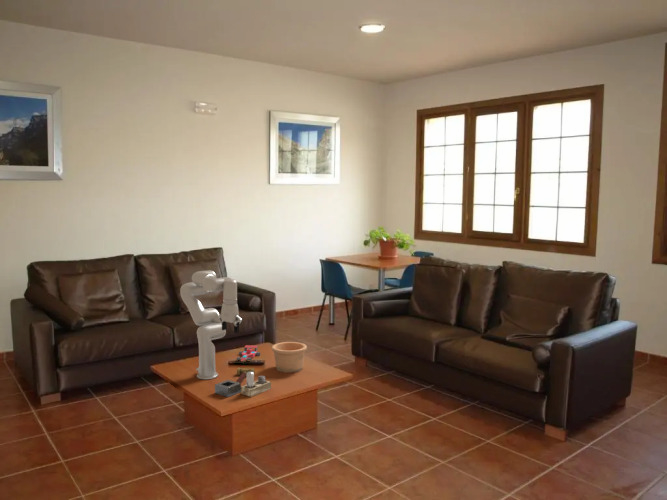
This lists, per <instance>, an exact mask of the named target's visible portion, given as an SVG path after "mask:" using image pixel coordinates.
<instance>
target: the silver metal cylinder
mask: <svg viewBox="0 0 667 500" xmlns="http://www.w3.org/2000/svg"><path fill="white" fill-rule="evenodd" d="M246 374H247V375H246V385H247V388H249V389H252V388H254V381H255V373H254V372H252V371H249V372H247V373H246Z"/></svg>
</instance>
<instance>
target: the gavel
mask: <svg viewBox="0 0 667 500" xmlns="http://www.w3.org/2000/svg"><path fill="white" fill-rule="evenodd" d="M249 371H252V372H254V374H255V373H256V372H255V368H254V367H253V368H252V367H251V368H244V367H243V368H242V367H237V369H236V375H237V376H239V377H238V378H237V380H236V382H238V383H241V384H242V382H243V381H244V380H245V377H247V374H246V373H247V372H249Z"/></svg>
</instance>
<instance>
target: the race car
mask: <svg viewBox="0 0 667 500" xmlns="http://www.w3.org/2000/svg"><path fill="white" fill-rule="evenodd" d="M243 349H244V350H241V351H239V352H238V357H236V361H237V360H241V361H243V360H251V361H252V358H255V356H256V357H260V356H261V352H259V351H258V345H249V344H248V345H245V346H244V348H243ZM240 356H241V357H240Z"/></svg>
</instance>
